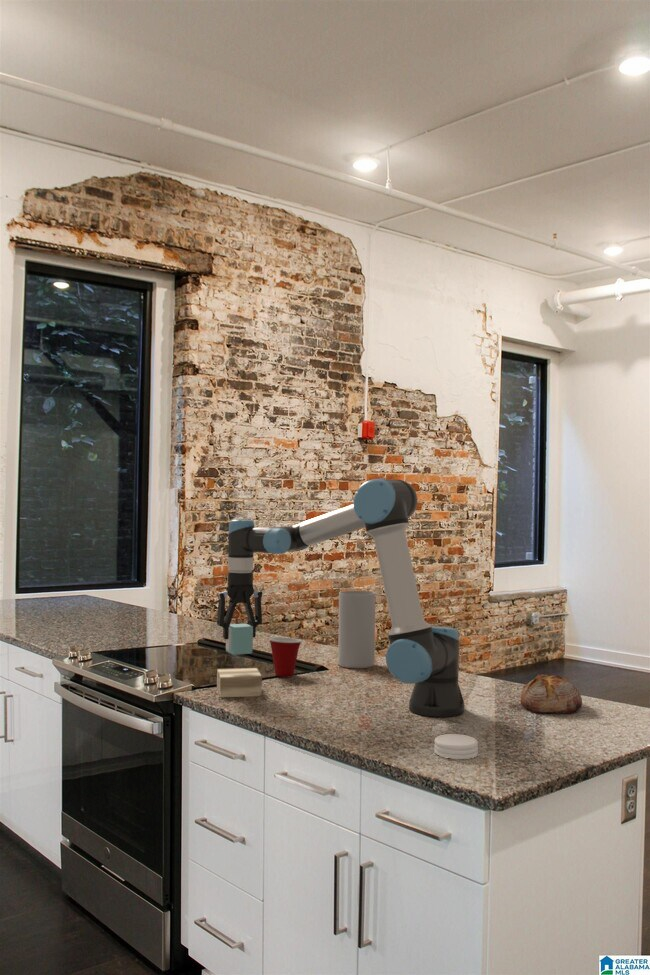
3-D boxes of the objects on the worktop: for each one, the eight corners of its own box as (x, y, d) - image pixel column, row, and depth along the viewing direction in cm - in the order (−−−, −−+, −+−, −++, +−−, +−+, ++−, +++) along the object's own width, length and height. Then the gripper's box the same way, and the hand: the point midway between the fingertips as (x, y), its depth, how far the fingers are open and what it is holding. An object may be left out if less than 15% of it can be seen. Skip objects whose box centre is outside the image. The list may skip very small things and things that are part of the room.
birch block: (261, 696, 256) (261, 676, 256) (220, 698, 253) (220, 677, 253) (256, 687, 267) (256, 667, 267) (216, 688, 265) (217, 668, 265)
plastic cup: (308, 675, 285) (309, 638, 285) (285, 680, 277) (285, 642, 277) (284, 670, 292) (285, 634, 292) (261, 675, 284) (261, 638, 284)
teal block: (252, 653, 259) (252, 626, 259) (233, 654, 256) (233, 627, 256) (244, 649, 264) (245, 623, 264) (226, 651, 262) (226, 624, 262)
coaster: (438, 746, 208) (438, 731, 208) (480, 750, 205) (480, 735, 205) (430, 758, 199) (430, 743, 199) (475, 763, 196) (475, 747, 196)
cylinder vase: (366, 661, 310) (367, 590, 310) (379, 668, 298) (380, 594, 298) (333, 662, 306) (334, 591, 306) (345, 669, 294) (346, 595, 294)
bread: (510, 713, 244) (508, 677, 244) (537, 700, 260) (536, 666, 260) (567, 719, 234) (565, 682, 234) (592, 705, 250) (590, 669, 250)
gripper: (265, 569, 268) (264, 645, 268) (205, 571, 259) (204, 649, 259) (275, 571, 261) (273, 649, 261) (214, 573, 253) (212, 653, 253)
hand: (239, 649), depth 260 cm, fingers closed on teal block, 6 cm apart
